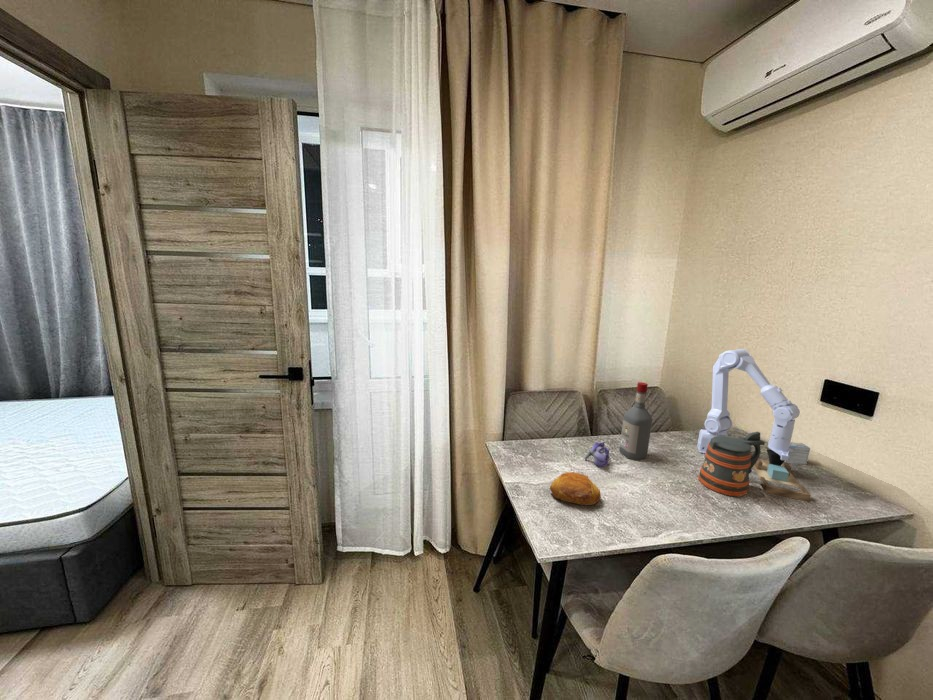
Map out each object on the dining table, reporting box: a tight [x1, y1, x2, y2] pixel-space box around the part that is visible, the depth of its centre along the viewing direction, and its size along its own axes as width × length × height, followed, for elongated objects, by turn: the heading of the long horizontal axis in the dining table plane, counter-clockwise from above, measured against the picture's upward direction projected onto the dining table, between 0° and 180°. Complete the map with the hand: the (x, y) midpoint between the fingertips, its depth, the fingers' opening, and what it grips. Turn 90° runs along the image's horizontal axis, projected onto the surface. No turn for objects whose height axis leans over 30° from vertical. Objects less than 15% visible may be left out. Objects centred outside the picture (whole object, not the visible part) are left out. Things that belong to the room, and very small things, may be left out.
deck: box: [752, 457, 812, 503], centre depth 141 cm, size 12×26×4 cm, turn 157°
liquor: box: [618, 381, 653, 461], centre depth 153 cm, size 9×9×30 cm
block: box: [767, 464, 789, 482], centre depth 139 cm, size 4×5×4 cm
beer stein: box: [698, 431, 766, 497], centre depth 134 cm, size 19×15×20 cm
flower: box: [584, 441, 611, 468], centre depth 146 cm, size 9×9×10 cm
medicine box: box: [784, 441, 811, 465], centre depth 152 cm, size 8×4×9 cm, turn 84°
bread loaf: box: [549, 471, 601, 506], centre depth 126 cm, size 14×16×8 cm
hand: (773, 470), depth 143 cm, fingers closed
